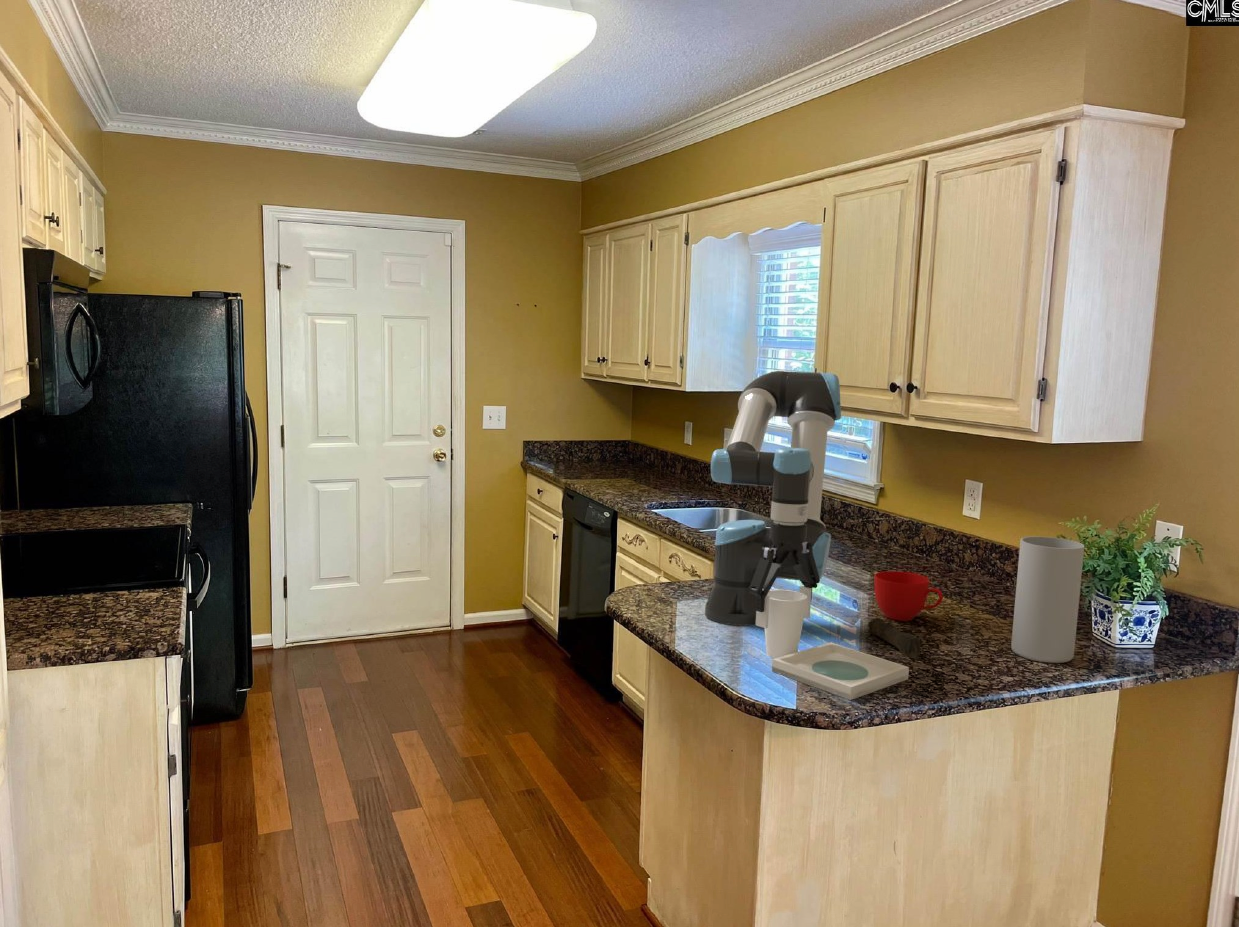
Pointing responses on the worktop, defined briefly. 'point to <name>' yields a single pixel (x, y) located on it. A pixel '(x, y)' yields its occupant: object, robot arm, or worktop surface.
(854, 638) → the worktop surface
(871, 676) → the square white tray
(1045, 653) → the cylinder vase
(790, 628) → the foam cup
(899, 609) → the ceramic cup
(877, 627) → the hand tool
